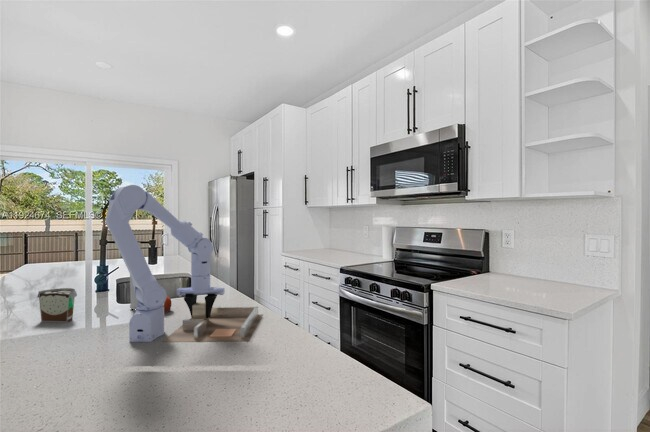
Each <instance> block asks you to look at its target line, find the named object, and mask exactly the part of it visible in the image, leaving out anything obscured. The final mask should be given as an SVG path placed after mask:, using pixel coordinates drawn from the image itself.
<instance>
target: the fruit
mask: <svg viewBox="0 0 650 432" xmlns="http://www.w3.org/2000/svg"><path fill="white" fill-rule="evenodd" d="M171 308H172V299H171V297H170V296H169V295H167V298H166V301H165V302H164V315H165V314H167V313H169V312H170V311H171Z"/></svg>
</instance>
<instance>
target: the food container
mask: <svg viewBox="0 0 650 432" xmlns="http://www.w3.org/2000/svg"><path fill="white" fill-rule="evenodd" d="M76 297H78V294H77V291H76V289H75V288H71V287H66V288H65V287H63V288H52V289H51V288H50V289H45V290H40V291H38V293H37V296H36V298H38V301H39V302H38V304H39V309H40V310H39V311H40V319H41V322H44V323H45V322H46V323H50V322H51V323H69V322H71V321H72V320H73V316H74V308H75V307H74V306H75V298H76Z"/></svg>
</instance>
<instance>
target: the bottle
mask: <svg viewBox="0 0 650 432" xmlns="http://www.w3.org/2000/svg"><path fill="white" fill-rule="evenodd" d="M137 242H138V241H137ZM138 245H139V247H140V248H142V247H141V242H138ZM129 288H130V289H129V290H130V291H129V292H130V304H129V309H130V308H131V309H136V306H137V304H138V301H137V300H136V298H135V296H134V291H135V288H134V285H133V280H132V277H131V275H130V274H129ZM131 309H130V310H131Z"/></svg>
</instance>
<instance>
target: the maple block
mask: <svg viewBox="0 0 650 432" xmlns="http://www.w3.org/2000/svg"><path fill="white" fill-rule="evenodd" d="M192 319H207V322H208V321H209V318H206V303H205V301H203V302H202V301H196V303H195V304H194V305H192Z"/></svg>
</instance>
